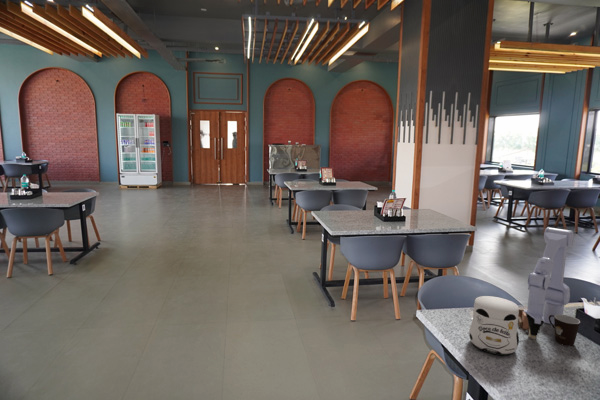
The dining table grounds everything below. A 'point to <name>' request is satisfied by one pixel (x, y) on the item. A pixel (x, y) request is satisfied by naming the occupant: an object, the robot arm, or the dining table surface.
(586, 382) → the dining table surface
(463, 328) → the dining table surface
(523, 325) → the tethered block
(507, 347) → the milk container
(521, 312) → the wooden u-shaped bracket
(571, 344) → the coffee mug
